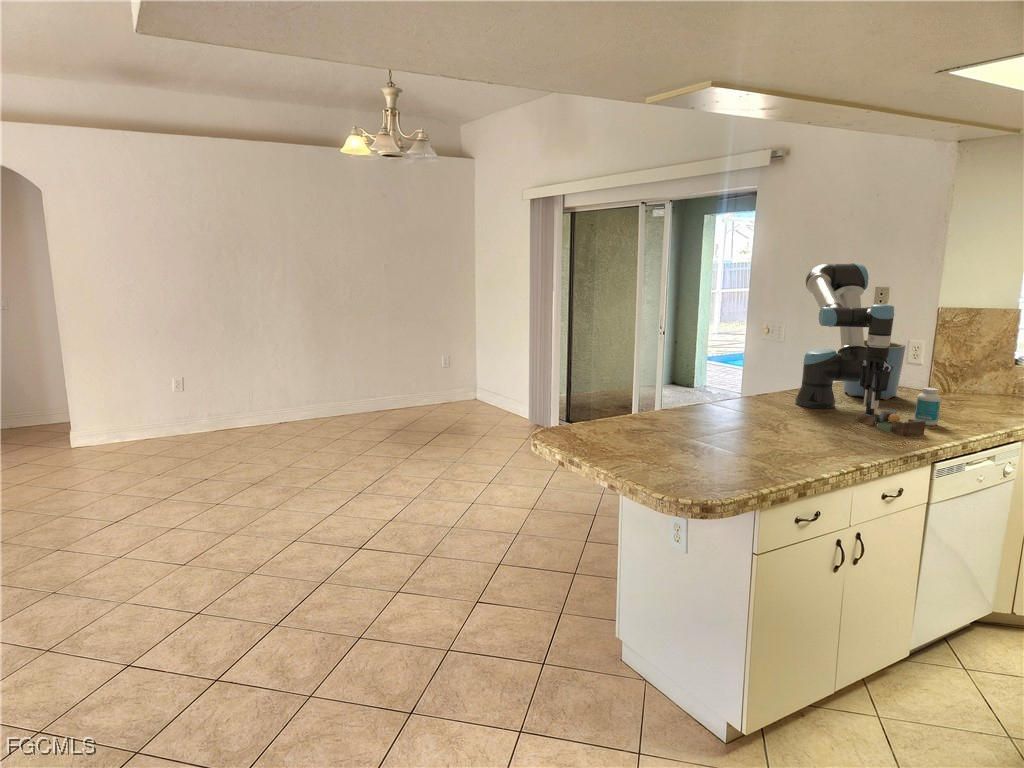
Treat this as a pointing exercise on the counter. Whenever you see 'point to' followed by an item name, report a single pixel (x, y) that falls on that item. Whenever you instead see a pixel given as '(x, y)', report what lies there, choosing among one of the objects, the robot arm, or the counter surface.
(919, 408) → the pill bottle
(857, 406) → the counter surface
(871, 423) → the guide
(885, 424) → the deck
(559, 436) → the counter surface
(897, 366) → the planter
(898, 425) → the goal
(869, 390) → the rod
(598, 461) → the counter surface
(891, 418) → the ball
